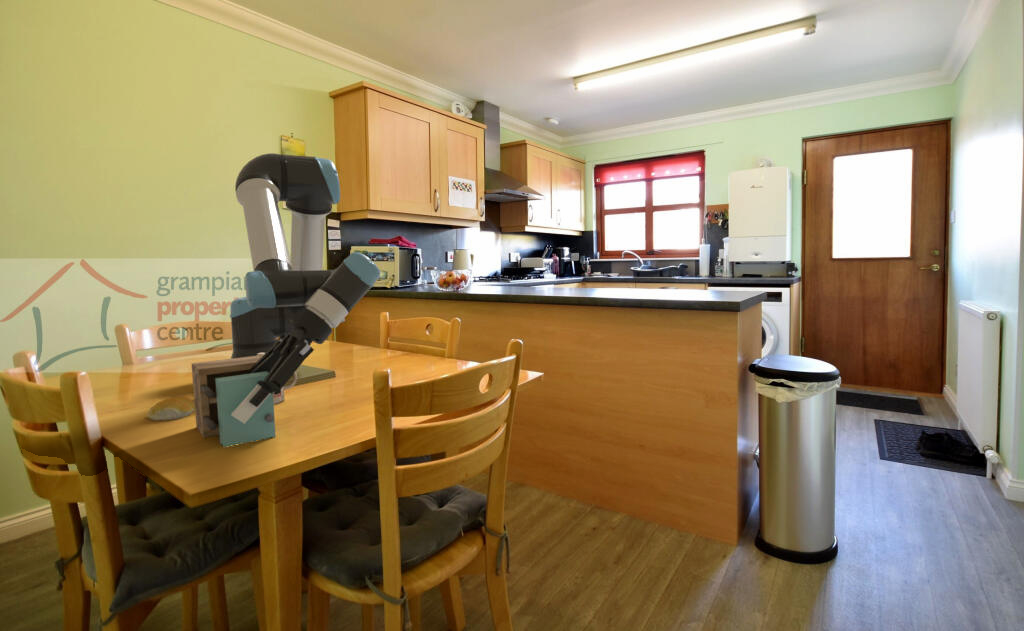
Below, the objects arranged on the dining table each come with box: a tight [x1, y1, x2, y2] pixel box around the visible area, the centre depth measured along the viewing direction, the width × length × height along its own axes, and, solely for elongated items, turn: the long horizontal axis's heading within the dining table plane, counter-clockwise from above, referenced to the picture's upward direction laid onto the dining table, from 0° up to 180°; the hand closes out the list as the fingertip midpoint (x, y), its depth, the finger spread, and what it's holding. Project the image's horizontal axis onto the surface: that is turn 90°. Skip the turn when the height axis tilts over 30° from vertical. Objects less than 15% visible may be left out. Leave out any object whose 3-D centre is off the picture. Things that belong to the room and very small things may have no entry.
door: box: [215, 371, 277, 448], centre depth 95 cm, size 4×9×12 cm, turn 130°
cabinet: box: [191, 356, 261, 438], centre depth 101 cm, size 14×12×13 cm
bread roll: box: [147, 395, 195, 422], centre depth 112 cm, size 8×9×4 cm
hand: (232, 414), depth 93 cm, fingers open, 7 cm apart
